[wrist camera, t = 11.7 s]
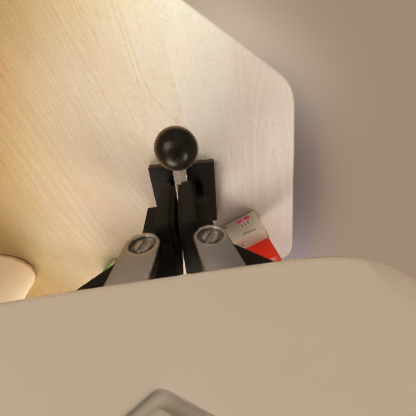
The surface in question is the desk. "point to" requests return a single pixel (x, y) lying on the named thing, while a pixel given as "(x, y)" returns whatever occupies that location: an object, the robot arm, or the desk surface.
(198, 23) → the desk surface
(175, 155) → the lever
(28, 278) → the mug
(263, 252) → the ink box
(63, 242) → the desk surface
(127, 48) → the desk surface
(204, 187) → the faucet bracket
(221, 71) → the desk surface
